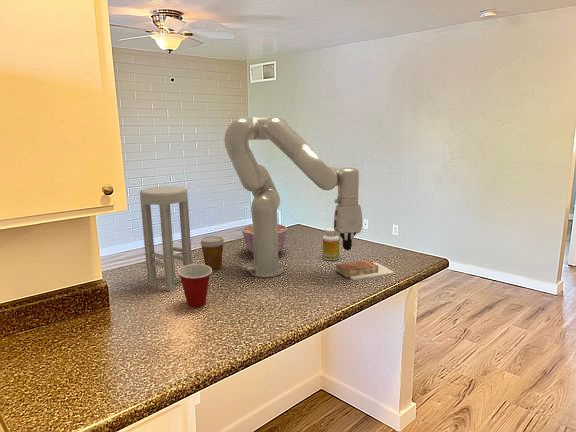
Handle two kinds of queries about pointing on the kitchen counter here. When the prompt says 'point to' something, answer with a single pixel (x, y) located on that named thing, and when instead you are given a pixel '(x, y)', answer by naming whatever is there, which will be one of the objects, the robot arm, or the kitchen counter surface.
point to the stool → (165, 231)
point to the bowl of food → (249, 236)
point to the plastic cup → (195, 283)
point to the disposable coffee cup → (212, 251)
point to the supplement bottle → (330, 245)
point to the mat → (381, 272)
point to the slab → (356, 268)
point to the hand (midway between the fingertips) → (347, 249)
